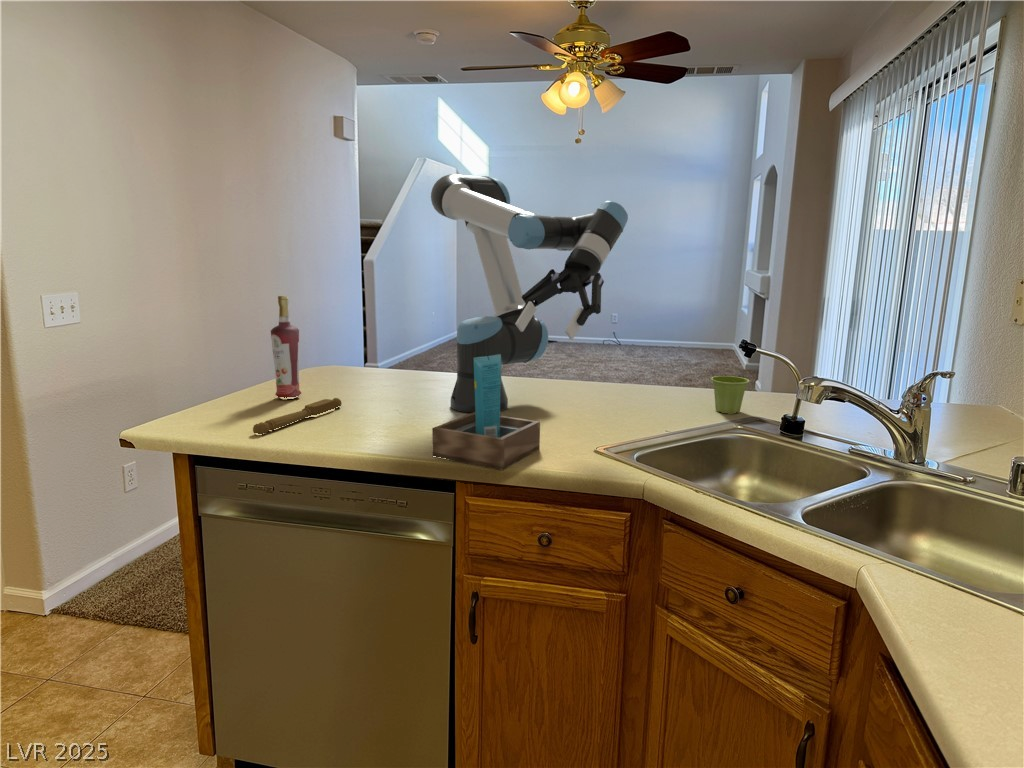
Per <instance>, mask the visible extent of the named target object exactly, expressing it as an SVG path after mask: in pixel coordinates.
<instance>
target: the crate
mask: <svg viewBox="0 0 1024 768" xmlns="http://www.w3.org/2000/svg"><path fill="white" fill-rule="evenodd" d="M431 431H432V434H431V435H432V457H433V456H436V457H441V458H446V459H449V460H448V461H451V460H452V462H456V463H462V464H467V465H474V466H477V467H482V468H487V469H493V470H498V471H503V470H504V469H505V470H506V468H508V467H510V466H512V465H514V464H515V463H517V462H519V461H521V460H522V459H523V460H524V458H526V457H528V456H530V455H532V454H533V452H534V453H535V452H537V451H539V450H540V445H541V444H540V443H541V441H540V439H541V421H539V420H533V419H526V418H520V417H519V418H518V417H511V416H505V415H500V438H498V437H492V436H486V435H480V434H476V413H475V412H473V413H467V414H466V415H464V416H461V417H457V418H456V419H452V420H451V421H448V422H445V423H442V424H439V425H437V426H434V427H432V430H431ZM436 457H435V458H436ZM441 458H440V459H441ZM446 459H445V460H446Z"/></svg>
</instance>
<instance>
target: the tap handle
mask: <svg viewBox="0 0 1024 768" xmlns="http://www.w3.org/2000/svg"><path fill="white" fill-rule="evenodd" d="M338 406H341V407H342V400H341V399H340V398H339V397H338V398H337V397H333V398H332V399H329V398H326V399H325V398H324V399H321V400H318V401H315V402H312V403H309V404H306V405H305V406H304V408H303V409H301V410H299V411H296V412H292V413H288V414H284V415H282V416H278V417H273V418H271V419H269V420H268V419H267V420H266V421H265V420H264V422H263V421H262V422H259V423H256V424H253V427H252V433H253V434H254V433H258V434H263V433H266V432H268V431H269V430H274V429H276V428H279V427H282V426H285V425H287V424H290V423H292V422H295V421H297V420H300V419H303V418H305V417H308V416H311V415H317V414H320V413H323V412H326V411H328V410H331V409H334V408H336V407H338ZM303 420H304V419H303ZM268 433H269V432H268Z"/></svg>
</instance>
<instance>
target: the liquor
mask: <svg viewBox="0 0 1024 768" xmlns="http://www.w3.org/2000/svg"><path fill="white" fill-rule="evenodd" d="M277 303H278V307H279V309H278V312H279V313H278V325H275V326H274V327H273V328H271V329H270V339H271V346H272V347H271V348H272V356H273V365H274V375H275V384H276V385H275V388H276V392H275V397H277V396H278V397H284V398H285V397H286V398H287V397H296V396H298V397H300V395H301V394H302V392H301V389H300V329H298V328H297V327H296V326H294V325H292V324H291V320H290V319H291V318H290V314H289V313H290V312H289V303H290V302H289V295H277ZM278 397H277V398H278Z"/></svg>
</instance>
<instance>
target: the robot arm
mask: <svg viewBox="0 0 1024 768" xmlns="http://www.w3.org/2000/svg"><path fill="white" fill-rule="evenodd" d="M432 186H433V187H432V189H431V193H430V202H431V204H432V207H433V209H434V210H435V211H436V212H437V213H438V214H439V215H441V216H443V217H445V218H448V219H450V220H451V221H452V220H453V221H460V220H463V221H464V223H465V227H466V228H465V229H467V231H469V232H470V233H472V234H473V237H474V239H475V244H476V246H477V250H478V254H479V257H480V262H481V266H482V268H483V273H484V276H485V280H486V284H487V287H488V290H489V294H490V299H491V302H492V306H493V308H494V309H493V310H494V312H495V313H494V315H493V316H491V315H490V316H487V315H485V316H478V317H472V318H467V319H464V320H462V321H461V322H460V323H459V324H457V325H458V326H457V330H456V338H455V339H456V381H455V383H454V387H453V390H452V393H451V397H450V408H451V407H452V408H453V410H454V409H455V410H454V411H457V410H459V411H458V412H461V411H463V412H462V413H468V412H470V413H469V414H471V412H472V413H473V412H475V384H474V358H476V357H485V356H492V355H498V354H500V355H501V367H502V366H505V365H512V364H521V363H525V364H526V363H528V362H532V361H536V360H538V359H540V358H541V357H542V356H543V355H544V354H545V352H546V349H547V347H548V343H549V330H548V327H547V325H546V323H545V322H544V321H542V319H540V318H536V317H535V313H536V312H537V308H536V307H538V306H540V305H541V304H543V303H544V302H546V301H548V300H549V299H551V298H552V297H554V296H556V295H561V294H564V293H571V294H577V293H578V296H579V299H580V302H581V306H578V308H577V309H576V311H575V312H574V315H573V316H572V318H571V320H570V322H569V323H568V324H567V327H566V328H565V330H564V332H565V334H566V335H567V337H568V338H569V340H574V339H575V336H576V335H577V333H578V331H579V329H580V327H583V326H584V325H585V324H586V322H587V320H588V318H589V317H590V316H591V315H592V314H596V315H599V314H601V313H602V287H603V286H604V283H605V280H604V279H603V277H602V275H601V274H600V272H599V271H600V270H601V267H602V266H603V264H604V263H605V261H606V259H607V258H608V256H609V254H610V252H611V251H612V249H613V248H614V247H615V244H616V243H617V241H618V239H619V238H620V236H621V235H622V233H624V229H625V227H626V226H627V225H626V224H627V223H628V221H629V220H628V219H629V215H628V212H627V210H626V209H625V208H624V207H623V206H622V205H621V204H619V203H618V202H617V201H613V200H606V201H604V202H602V203H601V204H600V205H599V207H597V209H596V211H595V212H592V213H588V214H585V215H579V216H571V217H570V216H554V215H541V214H540V215H539V214H536V213H533V212H530V211H527V210H525V209H522V208H519V207H516V206H514V205H511V196H510V192H509V190H508V188H507V186H506V184H505V183H504V182H502V181H501V180H500V179H498V178H495V177H491V176H487V175H485V176H479V175H468V174H459V173H449V174H446V175H443V176H441V177H440V178H439V179H437V180H436V181H435V183H434V184H433V185H432ZM508 239H509V241H510V242H511V244H512V245H513V247H515V248H519V249H525V250H534V249H535V250H537V249H538V250H547V249H548V250H550V249H551V250H557V251H563V252H564V251H569V252H570V251H571V252H570V254H569V255H568V257H567V259H566V260H565V263H564V268H563V270H561V271H560V272H556V271H555V269H550V270H549V271H548V272H547V274H546V275H545V276H544V277H543V278H542V279H540V280H539V281H538V282H537V283H535V285H533V286H532V287H530V289H528V290H527V291H526V292H525V293H524V294H523V292H522V288H521V284H520V280H519V278H518V273H517V271H516V266H515V263H514V259H513V255H512V252H511V248H510V245H509V242H508ZM558 284H559V286H558ZM589 285H591V300H589V298H588V293H587V291H586V287H588V286H589ZM590 301H591V304H590ZM508 399H509V398H508V395H507V392H506V389H505V386H504V383H503V379H502V377H501V387H500V412H501V410H502V411H504V410H506V409H508V407H509V403H508V402H509V400H508ZM452 408H451V409H452Z"/></svg>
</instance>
